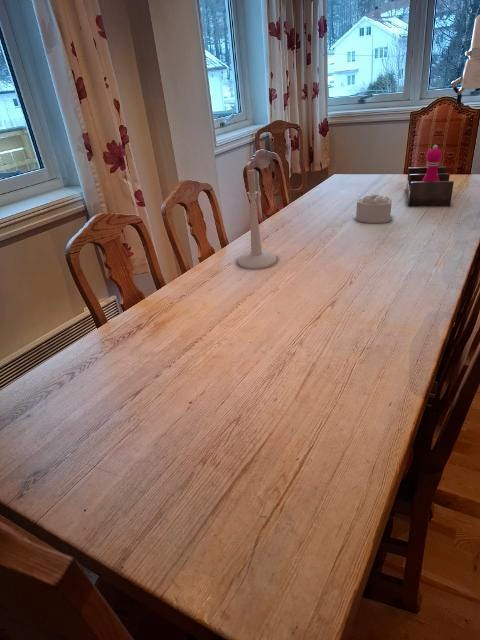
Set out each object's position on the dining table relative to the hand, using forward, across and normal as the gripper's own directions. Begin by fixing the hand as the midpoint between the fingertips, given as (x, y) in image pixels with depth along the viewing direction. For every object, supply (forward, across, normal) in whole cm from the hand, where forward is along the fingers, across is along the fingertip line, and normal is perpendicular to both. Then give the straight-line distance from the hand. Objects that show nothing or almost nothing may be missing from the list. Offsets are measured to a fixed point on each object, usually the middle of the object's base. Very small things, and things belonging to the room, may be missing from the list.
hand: (472, 104), depth 168 cm
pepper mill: (+34, -12, -6) cm, 36 cm away
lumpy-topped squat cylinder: (+36, -34, -30) cm, 58 cm away
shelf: (+36, -12, +1) cm, 38 cm away
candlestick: (+36, -70, -76) cm, 110 cm away
